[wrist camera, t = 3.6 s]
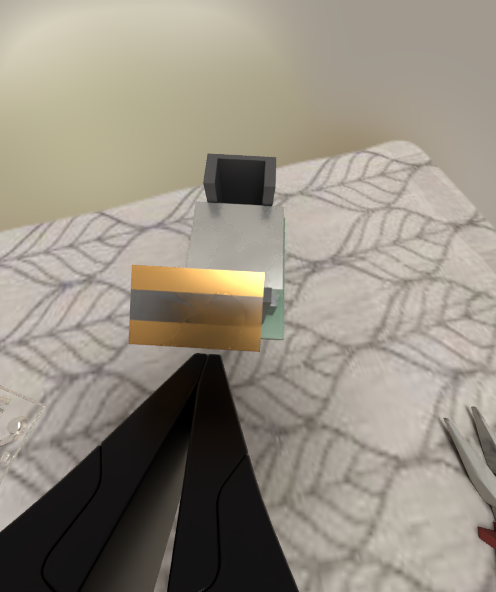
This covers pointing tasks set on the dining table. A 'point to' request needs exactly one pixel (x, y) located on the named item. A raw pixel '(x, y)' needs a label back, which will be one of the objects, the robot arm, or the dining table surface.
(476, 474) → the pliers
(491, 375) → the dining table surface
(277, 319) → the socket board
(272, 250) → the heat sink
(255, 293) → the grey hinged lever
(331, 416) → the dining table surface
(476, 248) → the dining table surface
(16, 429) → the clear plastic blister pack
